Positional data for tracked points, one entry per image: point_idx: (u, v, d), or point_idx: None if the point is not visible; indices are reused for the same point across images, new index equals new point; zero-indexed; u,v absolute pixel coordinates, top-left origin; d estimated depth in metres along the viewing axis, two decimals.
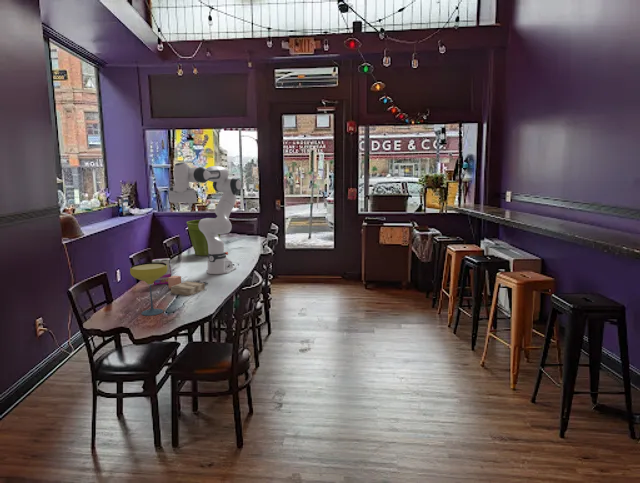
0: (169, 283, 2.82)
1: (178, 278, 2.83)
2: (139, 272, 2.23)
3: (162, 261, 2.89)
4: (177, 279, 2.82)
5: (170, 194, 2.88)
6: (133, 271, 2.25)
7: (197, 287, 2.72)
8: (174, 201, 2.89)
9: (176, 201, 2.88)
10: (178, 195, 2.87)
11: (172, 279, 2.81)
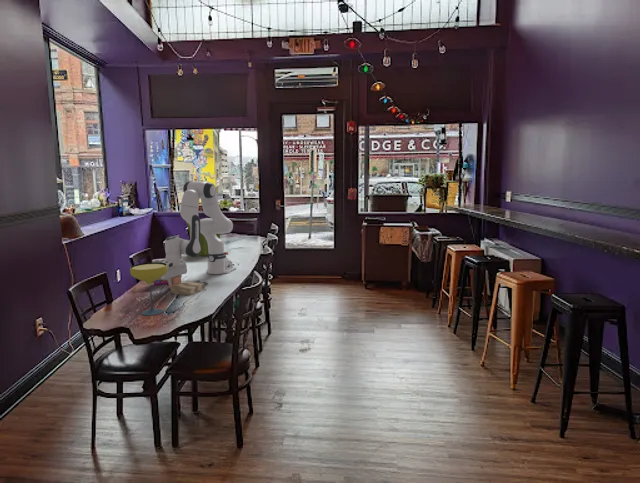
0: None
1: (178, 278, 2.83)
2: (139, 272, 2.23)
3: (162, 261, 2.89)
4: (177, 279, 2.82)
5: (167, 271, 2.74)
6: (133, 271, 2.25)
7: (197, 287, 2.72)
8: (170, 277, 2.78)
9: (172, 276, 2.79)
10: (173, 270, 2.80)
11: (172, 279, 2.81)
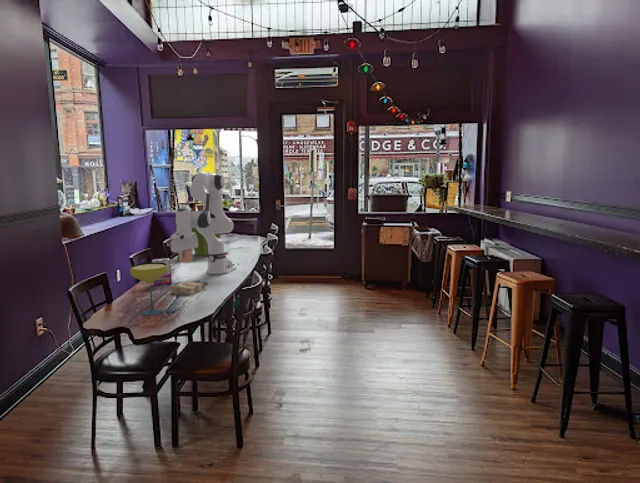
0: None
1: (189, 251, 2.70)
2: (139, 272, 2.23)
3: (162, 261, 2.89)
4: (189, 253, 2.70)
5: (178, 243, 2.62)
6: (133, 271, 2.25)
7: (197, 287, 2.72)
8: (181, 250, 2.65)
9: (183, 249, 2.67)
10: (184, 242, 2.68)
11: (183, 252, 2.68)
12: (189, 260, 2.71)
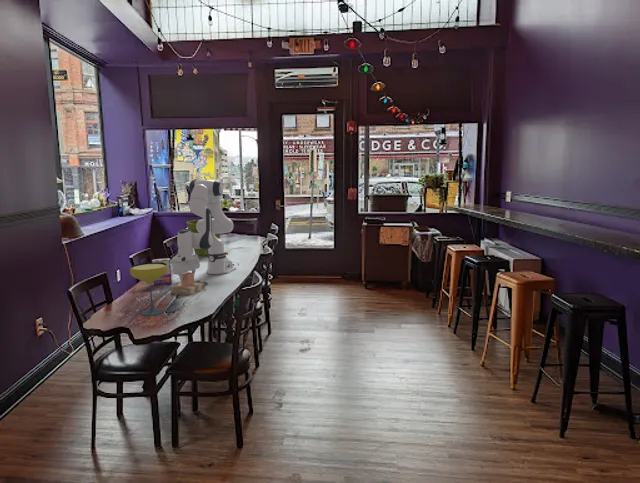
0: None
1: (191, 275, 2.73)
2: (139, 272, 2.23)
3: (162, 261, 2.89)
4: (190, 276, 2.72)
5: (179, 265, 2.64)
6: (133, 271, 2.25)
7: (197, 287, 2.72)
8: (182, 272, 2.67)
9: (184, 271, 2.69)
10: (186, 264, 2.70)
11: (185, 276, 2.71)
12: (191, 283, 2.73)
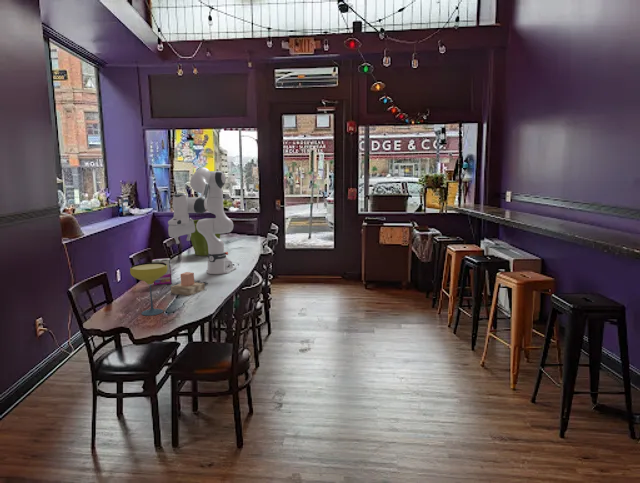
0: (181, 280, 2.72)
1: (191, 275, 2.73)
2: (139, 272, 2.23)
3: (162, 261, 2.89)
4: (190, 276, 2.72)
5: (175, 228, 2.68)
6: (133, 271, 2.25)
7: (197, 287, 2.72)
8: (178, 235, 2.71)
9: (180, 234, 2.72)
10: (181, 227, 2.73)
11: (185, 276, 2.71)
12: (191, 283, 2.73)
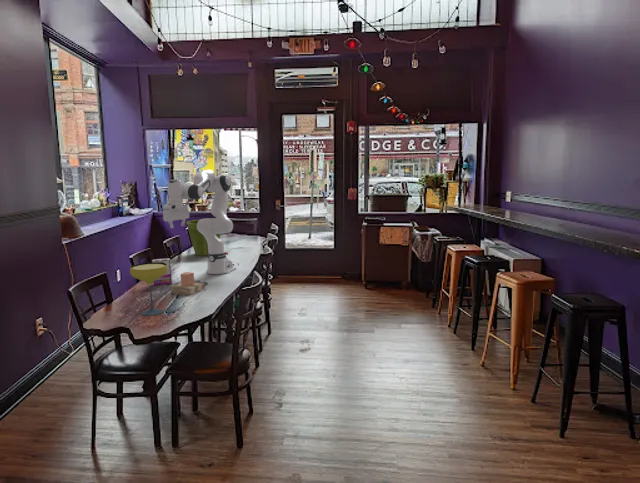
0: (181, 280, 2.72)
1: (191, 275, 2.73)
2: (139, 272, 2.23)
3: (162, 261, 2.89)
4: (190, 276, 2.72)
5: (170, 212, 2.79)
6: (133, 271, 2.25)
7: (197, 287, 2.72)
8: (172, 219, 2.82)
9: (174, 219, 2.84)
10: (176, 212, 2.85)
11: (185, 276, 2.71)
12: (191, 283, 2.73)
